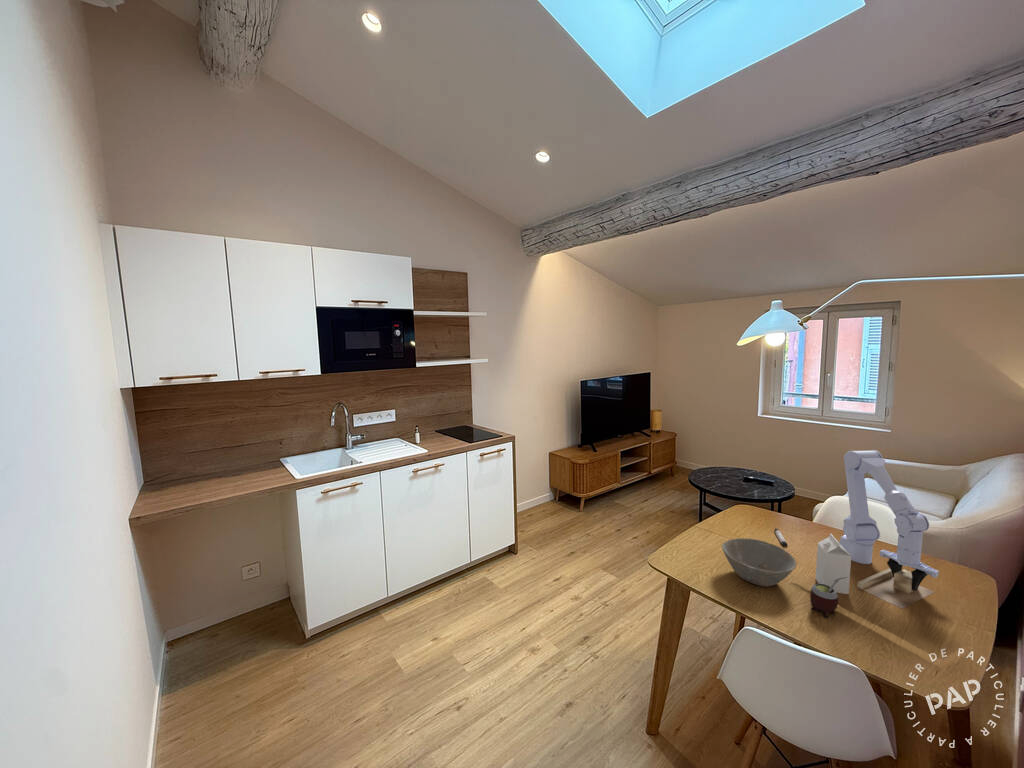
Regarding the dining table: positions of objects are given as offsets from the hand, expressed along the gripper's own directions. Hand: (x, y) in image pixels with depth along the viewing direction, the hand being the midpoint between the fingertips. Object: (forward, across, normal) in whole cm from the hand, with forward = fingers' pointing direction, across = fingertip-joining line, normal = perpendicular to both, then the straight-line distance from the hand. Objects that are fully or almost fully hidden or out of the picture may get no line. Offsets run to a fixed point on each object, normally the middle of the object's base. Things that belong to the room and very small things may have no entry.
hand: (905, 585), depth 136 cm
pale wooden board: (+2, -1, -4) cm, 5 cm away
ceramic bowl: (+3, -26, -38) cm, 46 cm away
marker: (+3, -42, -1) cm, 42 cm away
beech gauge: (+1, 0, 0) cm, 1 cm away
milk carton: (+3, -11, -21) cm, 24 cm away
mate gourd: (+3, -5, -35) cm, 35 cm away
